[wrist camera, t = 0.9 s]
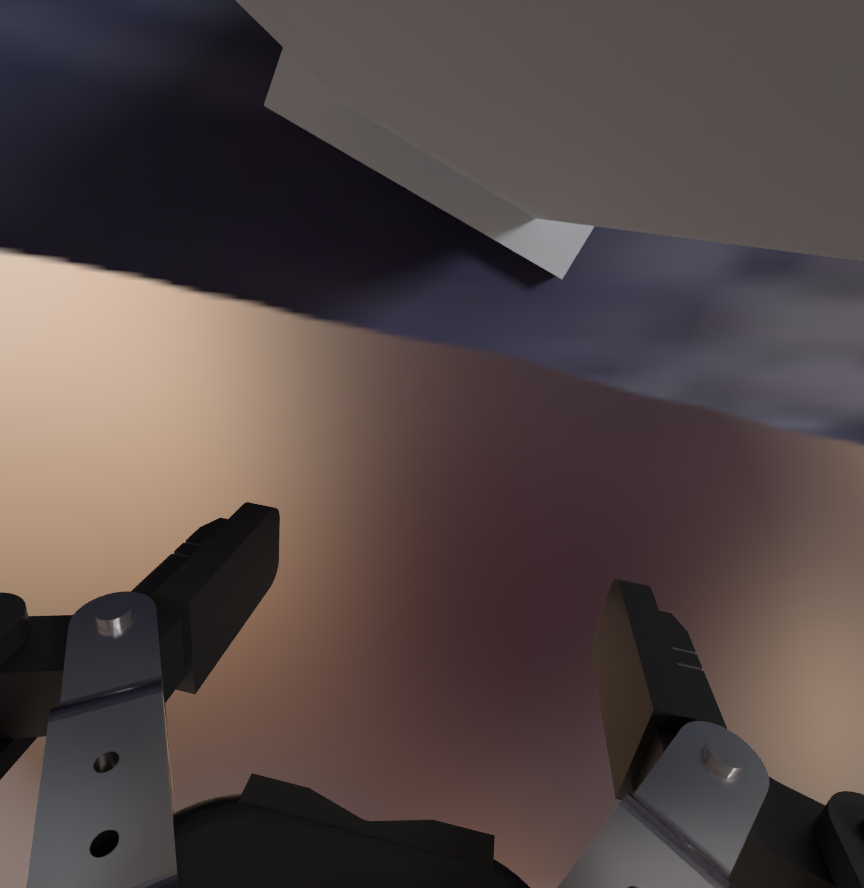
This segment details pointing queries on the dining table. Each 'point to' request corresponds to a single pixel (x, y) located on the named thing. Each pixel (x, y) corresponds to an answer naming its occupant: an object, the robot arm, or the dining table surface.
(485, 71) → the white plinth column
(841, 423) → the dining table surface
